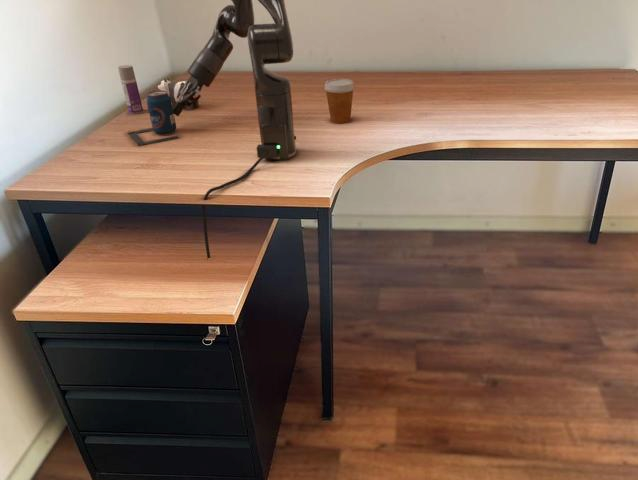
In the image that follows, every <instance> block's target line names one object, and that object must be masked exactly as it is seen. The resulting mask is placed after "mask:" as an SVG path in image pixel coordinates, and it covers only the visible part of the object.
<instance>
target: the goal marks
mask: <svg viewBox="0 0 638 480" xmlns="http://www.w3.org/2000/svg"><path fill="white" fill-rule="evenodd" d="M152 131H153V128H152V127H151V128H146V129H139V130H136V131H130V132H129V131H128V132H127V135H129V136H130V138H131V139H132V141H134V142H135V143H136V144H137V146H138V147H140V146H145V145H150V144H151V145H152V144H156V143H160V142H166V141H171V140H172V141H173V140H176V139H179V138H180V137H179V136H178V135H174V136H169V137H164V138H159V139H153V140H149V141H144V140H143V139H142V138H141V137H140V136H139V135H138V134H141V133H142V134H143V133H147V132H152ZM153 132H154V131H153Z"/></svg>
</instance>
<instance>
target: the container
mask: <svg viewBox="0 0 638 480" xmlns="http://www.w3.org/2000/svg"><path fill="white" fill-rule="evenodd" d="M117 69H118V74H119V78H120V83H121V87H122V91H123V94H124V99H125V103H126V106H127V107H126V108H127V111H128V114H130V115H139V114H142V113H143V112H144V109H143V104H142V99H141V94H140V90H139V87H138V82H137V78H136V75H135V71H134V67H133V64H132V65H131V64H123V65H119V66H118V67H117Z"/></svg>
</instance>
